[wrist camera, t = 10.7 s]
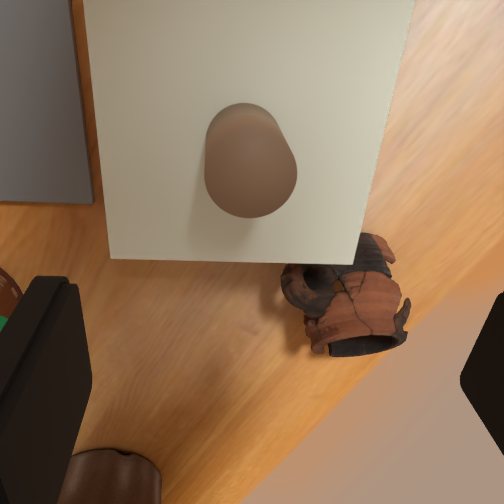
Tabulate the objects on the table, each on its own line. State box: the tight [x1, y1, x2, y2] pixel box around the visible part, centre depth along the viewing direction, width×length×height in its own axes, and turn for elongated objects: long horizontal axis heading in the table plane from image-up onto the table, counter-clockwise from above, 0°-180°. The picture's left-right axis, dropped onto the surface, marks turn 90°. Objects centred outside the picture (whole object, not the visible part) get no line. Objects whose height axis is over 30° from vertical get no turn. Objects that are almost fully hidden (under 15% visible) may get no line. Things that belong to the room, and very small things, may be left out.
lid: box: [83, 0, 415, 265], centre depth 21 cm, size 15×15×6 cm
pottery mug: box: [281, 232, 411, 357], centre depth 34 cm, size 12×10×8 cm
